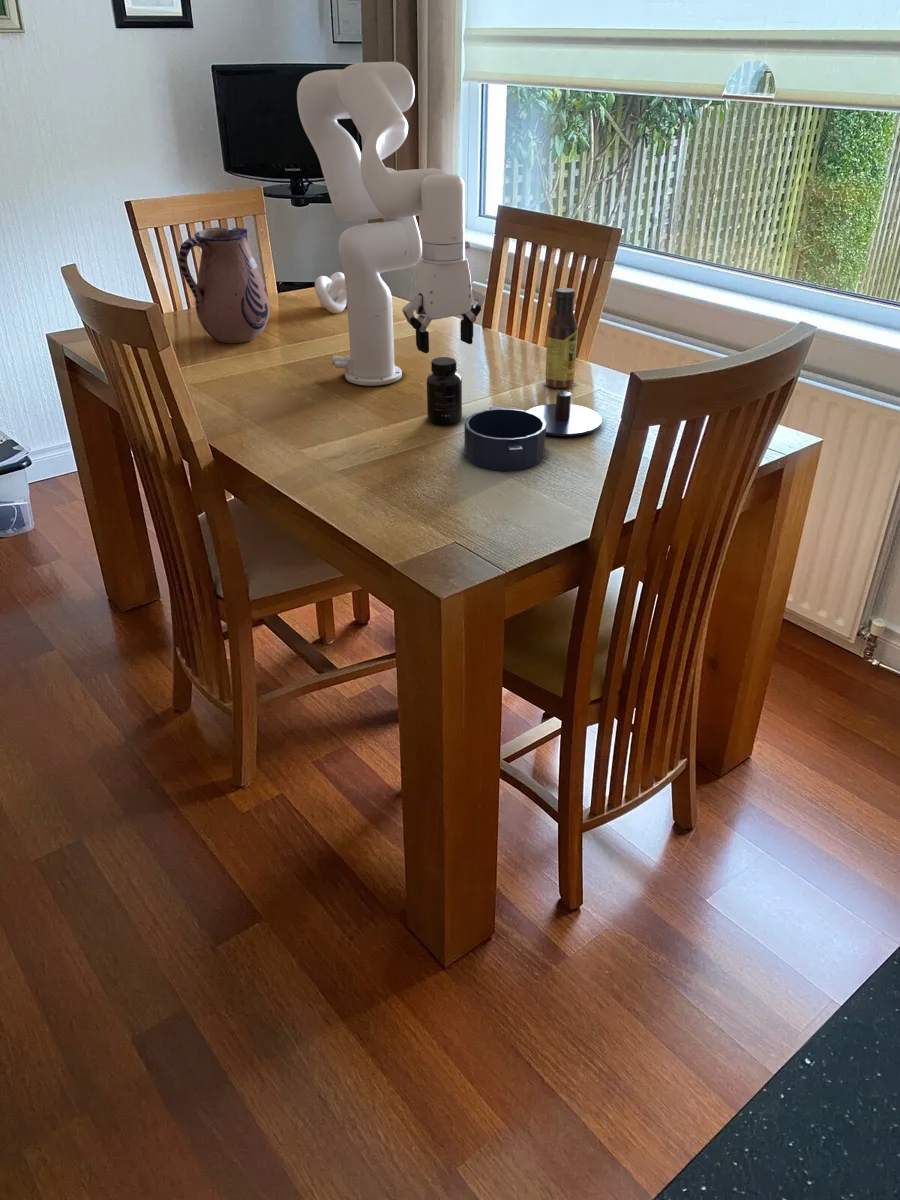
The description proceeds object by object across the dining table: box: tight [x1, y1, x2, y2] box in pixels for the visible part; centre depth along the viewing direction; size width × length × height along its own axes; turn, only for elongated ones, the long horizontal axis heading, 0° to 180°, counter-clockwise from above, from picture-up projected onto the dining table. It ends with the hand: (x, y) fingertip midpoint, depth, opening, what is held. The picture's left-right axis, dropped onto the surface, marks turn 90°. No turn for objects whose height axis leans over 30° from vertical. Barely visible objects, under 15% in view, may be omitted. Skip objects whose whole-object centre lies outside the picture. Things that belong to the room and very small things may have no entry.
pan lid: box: [527, 390, 603, 437], centre depth 173 cm, size 15×15×6 cm
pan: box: [463, 406, 547, 472], centre depth 161 cm, size 14×20×6 cm
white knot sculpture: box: [314, 271, 347, 314], centre depth 240 cm, size 11×12×9 cm
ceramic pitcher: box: [178, 226, 271, 344], centre depth 214 cm, size 18×21×25 cm
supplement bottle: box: [426, 356, 463, 427], centre depth 174 cm, size 7×7×12 cm
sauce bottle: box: [545, 287, 579, 389], centre depth 188 cm, size 7×6×20 cm
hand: (445, 346), depth 169 cm, fingers open, 9 cm apart
